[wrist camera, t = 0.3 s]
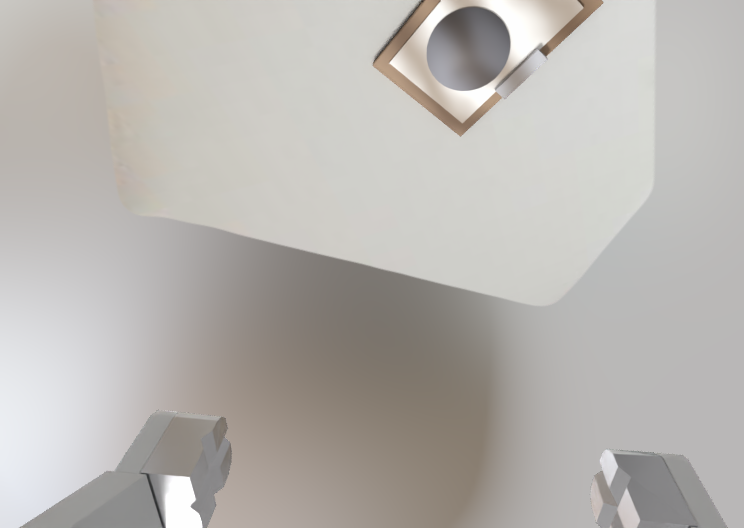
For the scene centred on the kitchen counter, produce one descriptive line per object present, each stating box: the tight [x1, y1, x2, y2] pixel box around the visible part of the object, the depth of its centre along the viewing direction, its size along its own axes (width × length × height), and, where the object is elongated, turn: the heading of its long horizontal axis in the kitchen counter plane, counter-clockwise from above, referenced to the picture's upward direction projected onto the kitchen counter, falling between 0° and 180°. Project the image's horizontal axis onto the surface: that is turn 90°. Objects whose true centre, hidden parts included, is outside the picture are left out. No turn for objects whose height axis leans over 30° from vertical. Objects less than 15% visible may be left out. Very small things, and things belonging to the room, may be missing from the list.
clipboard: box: [373, 0, 603, 137], centre depth 52 cm, size 20×14×2 cm
